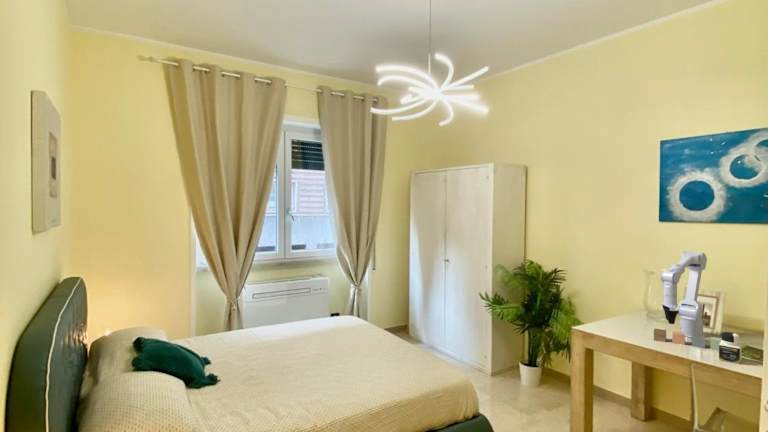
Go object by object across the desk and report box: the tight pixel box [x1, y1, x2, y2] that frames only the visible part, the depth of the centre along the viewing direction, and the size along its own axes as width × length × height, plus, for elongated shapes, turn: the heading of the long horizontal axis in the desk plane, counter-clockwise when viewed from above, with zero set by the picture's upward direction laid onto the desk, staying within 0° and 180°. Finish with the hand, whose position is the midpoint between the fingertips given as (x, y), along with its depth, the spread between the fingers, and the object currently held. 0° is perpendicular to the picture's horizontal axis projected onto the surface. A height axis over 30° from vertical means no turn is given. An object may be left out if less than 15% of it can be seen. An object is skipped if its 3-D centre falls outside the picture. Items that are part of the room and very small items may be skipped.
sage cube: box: [709, 336, 722, 352], centre depth 196 cm, size 5×5×5 cm
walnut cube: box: [653, 328, 667, 343], centre depth 210 cm, size 5×5×5 cm
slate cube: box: [691, 334, 706, 349], centre depth 201 cm, size 5×5×5 cm
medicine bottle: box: [718, 331, 743, 365], centre depth 182 cm, size 7×7×12 cm
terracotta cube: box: [671, 330, 686, 346], centre depth 206 cm, size 5×5×5 cm
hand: (670, 321), depth 207 cm, fingers open, 7 cm apart
